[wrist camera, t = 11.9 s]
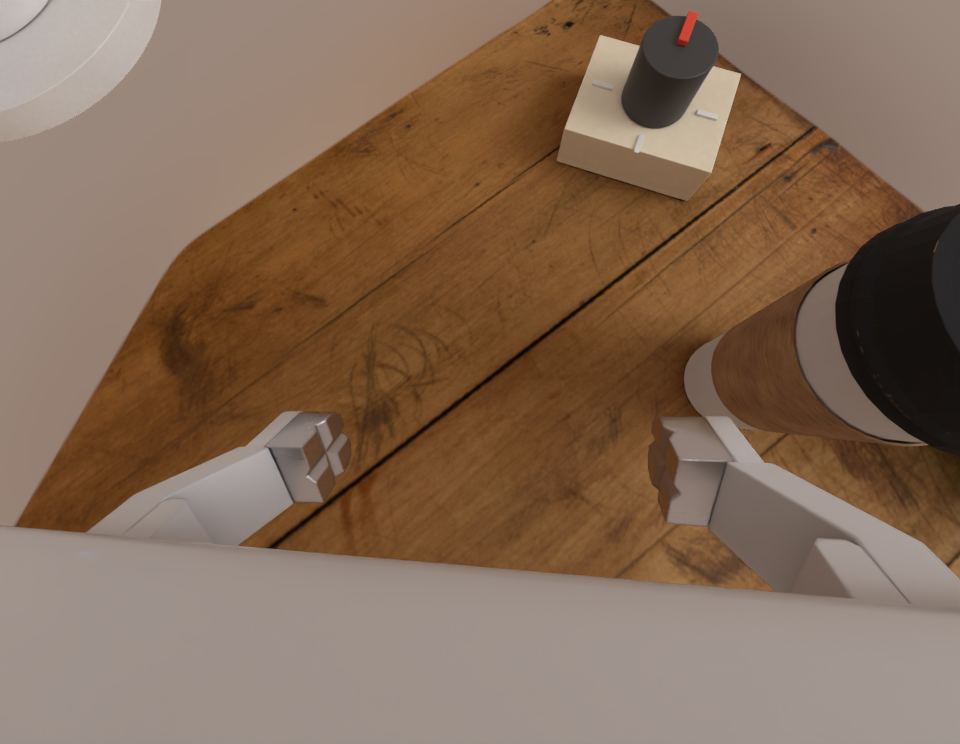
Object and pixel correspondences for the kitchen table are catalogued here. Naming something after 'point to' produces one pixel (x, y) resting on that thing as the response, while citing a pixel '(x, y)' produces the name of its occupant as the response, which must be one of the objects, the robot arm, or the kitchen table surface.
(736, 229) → the kitchen table surface
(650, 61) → the knob
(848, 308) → the coffee cup
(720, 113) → the panel
